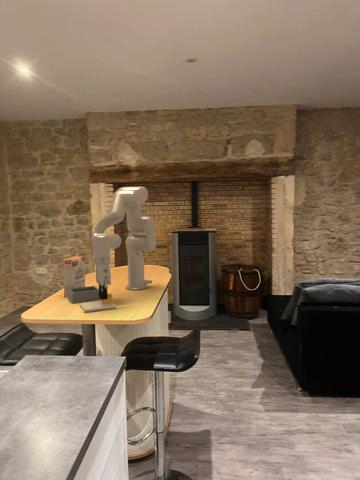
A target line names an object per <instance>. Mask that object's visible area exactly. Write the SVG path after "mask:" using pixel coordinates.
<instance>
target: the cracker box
mask: <svg viewBox="0 0 360 480" xmlns="http://www.w3.org/2000/svg"><path fill="white" fill-rule="evenodd" d="M85 258H86V257H85V256H83V255H77V256H76V255H75V256H71V257H68V258H64V259H63V260H62V265H63V266H62V267H63V268H62V269H63V296H64V297H63V298H68V289H71V288H80V287H86V264H85V263H86V260H85Z"/></svg>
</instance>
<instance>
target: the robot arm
mask: <svg viewBox="0 0 360 480" xmlns="http://www.w3.org/2000/svg"><path fill="white" fill-rule="evenodd" d="M148 196H149V192H148V189H147V188H146V187H145V186H122V187H119V188H118V189H117V190H116V191H115V192H114V193H113V194H112V198H111V201H110V205H109V208H108V211H107V214H106V215H104V216H103V217H102V218H101V219H100V220H99V221H98V222H97V224H96V225H95V226H94V229H93V232H92V237H91V244H92V246H93V264H94V266H95V280H96V283H97V284H98V289H99V298H100V299H101V300H105V299H108V294H109V293H108V289H109V285H112V278H111V277H112V275H111V267H110V265H111V250H112V249H113V250H115V249H118V248H120V245H122V238H121V236H120V235H119V234H118V233H112V232H111V233H108V232H105V231H106V230H107V229H108V228H111V227H112V226H115V225H116V224H119V223H121V222H122V221H123V220H125V215H126V227H127V230H128V231H129V232H130V233H138V234H130V235H127V237H126V239H125V246H126V247H125V248H126V252H127V274H128V275H127V278H128V279H127V281H128V283H127V285H125V288H126V289H127V290H132V291H138V290H139V291H140V289H141V290H144V289H147V288H148V284H152V283H153V280H152V279H149V280H148V279H145V258H144V256H143V253H142V252H152V251H154V250H155V248H156V228H155V227H156V225H155V220H154V218H153V217H151V216H149V215H142V207H141V205H142V204H144V203H145V202H146V201H147V200H148ZM141 233H142V234H141ZM143 233H144V234H143ZM101 300H100V301H101Z"/></svg>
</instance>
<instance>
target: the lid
mask: <svg viewBox="0 0 360 480" xmlns="http://www.w3.org/2000/svg"><path fill="white" fill-rule="evenodd" d="M78 305H79V306H80V308H81V309H82V310H83V311H84V312H87V313H89V312H96V311H103V310H110V309H113V308H117V305H116V304H114V303H113V293H108V299H105V300H97V301H90V302H82V303H78Z"/></svg>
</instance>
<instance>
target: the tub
mask: <svg viewBox="0 0 360 480" xmlns="http://www.w3.org/2000/svg"><path fill="white" fill-rule="evenodd" d="M67 299H68V301H70V304H73V305H74V304H79V303H87V302H96V301H101V299H100V298H99V287H97V286H96V285H90V286H85V287H80V288H71V289H68V297H67Z"/></svg>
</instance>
